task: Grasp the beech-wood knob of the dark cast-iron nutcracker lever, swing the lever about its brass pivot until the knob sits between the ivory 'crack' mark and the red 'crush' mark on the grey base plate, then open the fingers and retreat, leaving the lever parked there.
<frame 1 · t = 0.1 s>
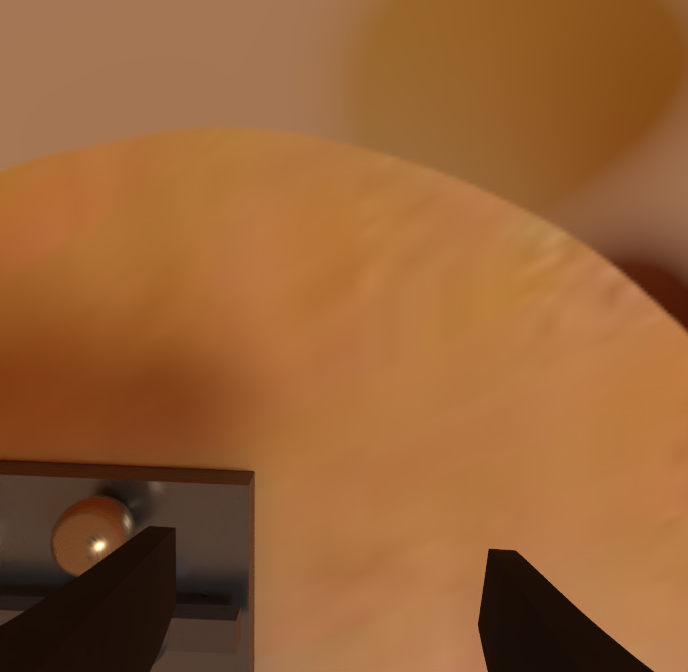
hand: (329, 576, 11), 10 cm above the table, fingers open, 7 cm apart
dark grey flat slab: (76, 627, 24), on the table
lever: (20, 656, 19), point 4 cm above the table, hinge at 0.0°
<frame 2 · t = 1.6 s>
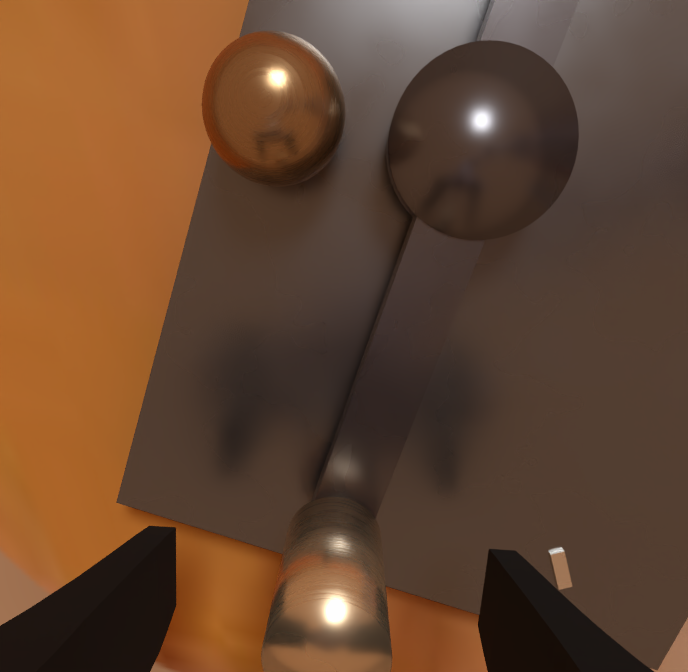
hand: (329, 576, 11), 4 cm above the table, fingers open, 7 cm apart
dark grey flat slab: (493, 314, 14), on the table
lever: (439, 294, 10), point 4 cm above the table, hinge at 0.0°
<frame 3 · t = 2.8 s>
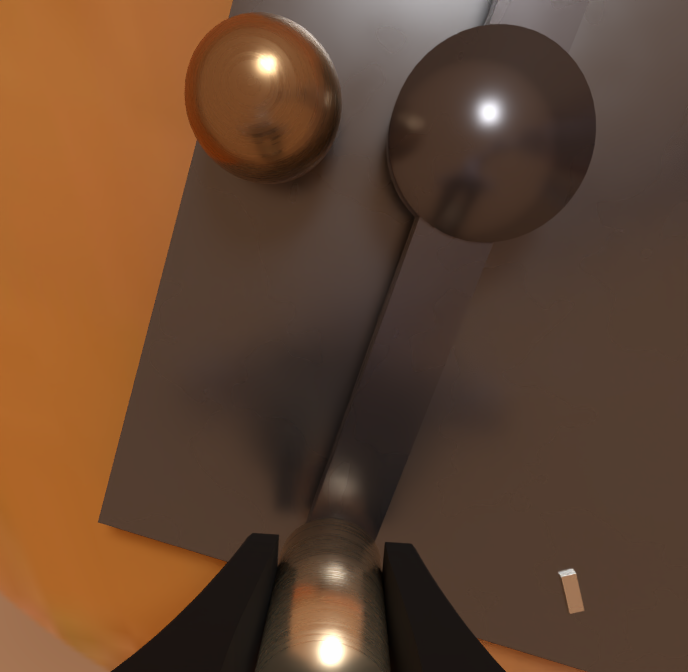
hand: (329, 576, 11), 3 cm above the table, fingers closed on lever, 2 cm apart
dark grey flat slab: (500, 320, 13), on the table
lever: (445, 301, 9), point 4 cm above the table, hinge at 0.0°, touching gripper
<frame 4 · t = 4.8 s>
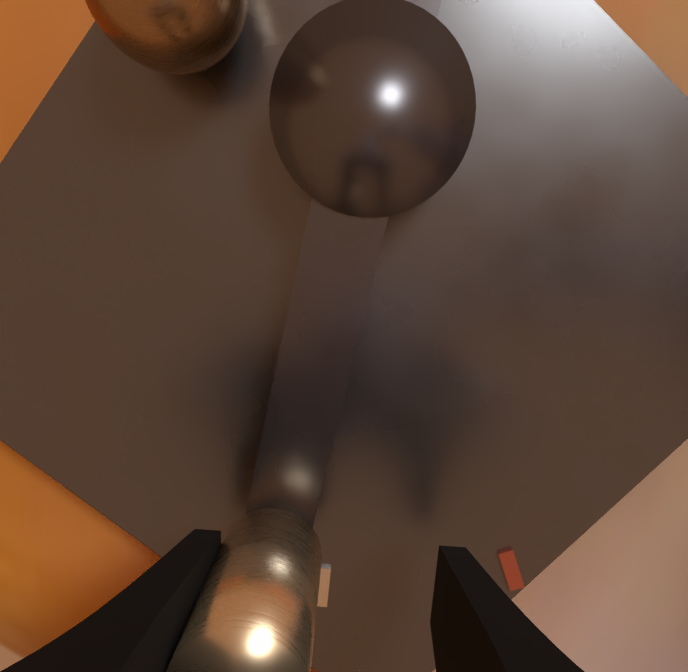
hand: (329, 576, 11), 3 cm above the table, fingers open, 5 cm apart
dark grey flat slab: (352, 308, 13), on the table
lever: (332, 279, 9), point 4 cm above the table, hinge at 27.6°, touching gripper
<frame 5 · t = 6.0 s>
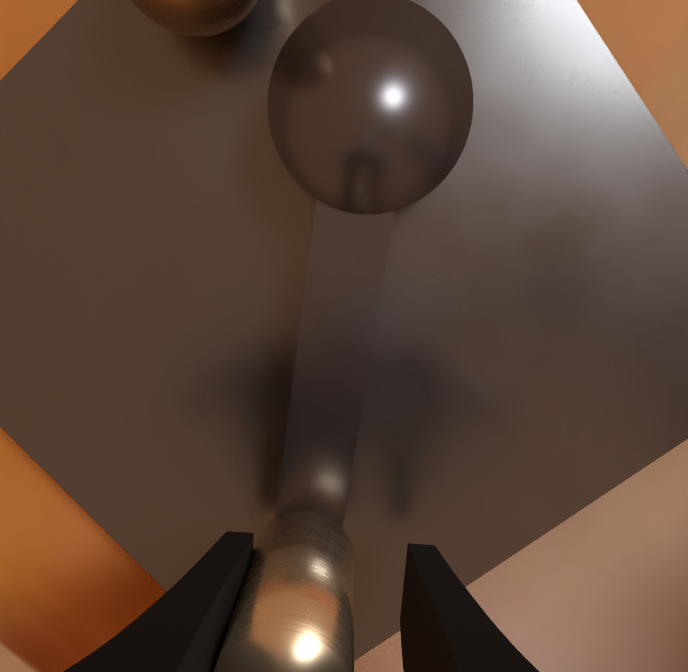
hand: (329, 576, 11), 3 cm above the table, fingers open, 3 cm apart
dark grey flat slab: (322, 300, 13), on the table
lever: (344, 278, 9), point 4 cm above the table, hinge at 42.3°, touching gripper
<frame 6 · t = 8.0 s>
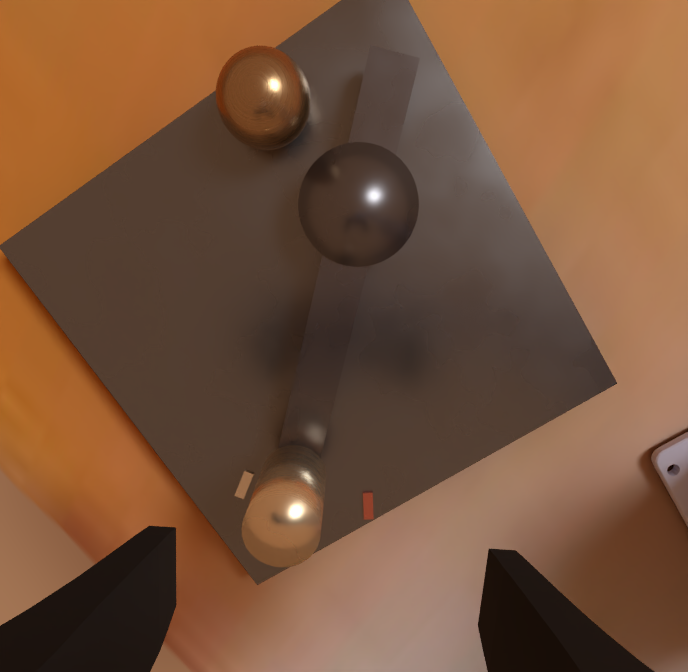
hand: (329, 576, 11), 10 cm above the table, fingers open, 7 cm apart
dark grey flat slab: (316, 311, 20), on the table
lever: (335, 304, 16), point 4 cm above the table, hinge at 44.0°
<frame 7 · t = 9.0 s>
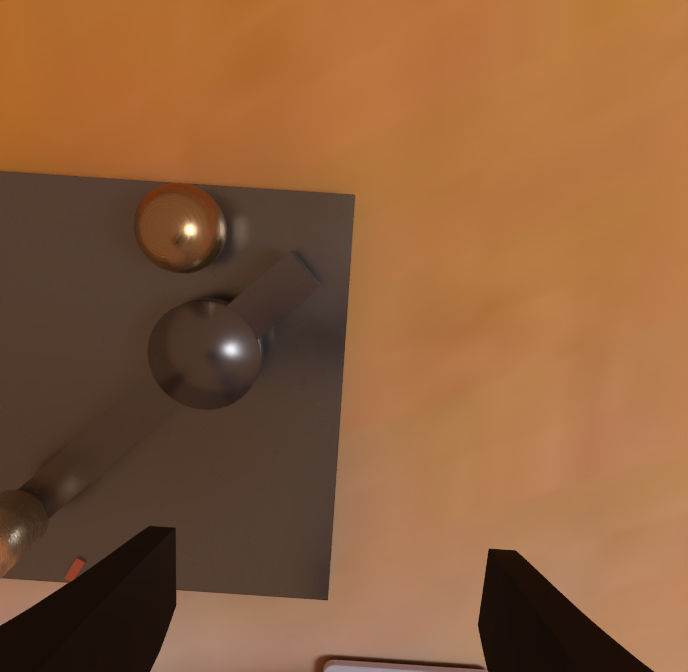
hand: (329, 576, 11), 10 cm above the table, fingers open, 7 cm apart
dark grey flat slab: (140, 391, 21), on the table
lever: (124, 425, 17), point 4 cm above the table, hinge at 44.0°
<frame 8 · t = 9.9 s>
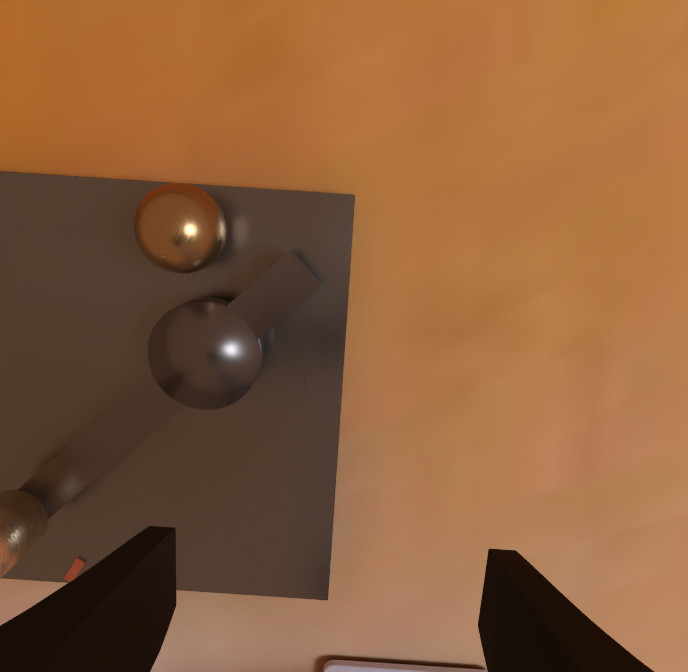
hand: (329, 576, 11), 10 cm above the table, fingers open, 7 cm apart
dark grey flat slab: (140, 391, 21), on the table
lever: (124, 425, 17), point 4 cm above the table, hinge at 44.0°
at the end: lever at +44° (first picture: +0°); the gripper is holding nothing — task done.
